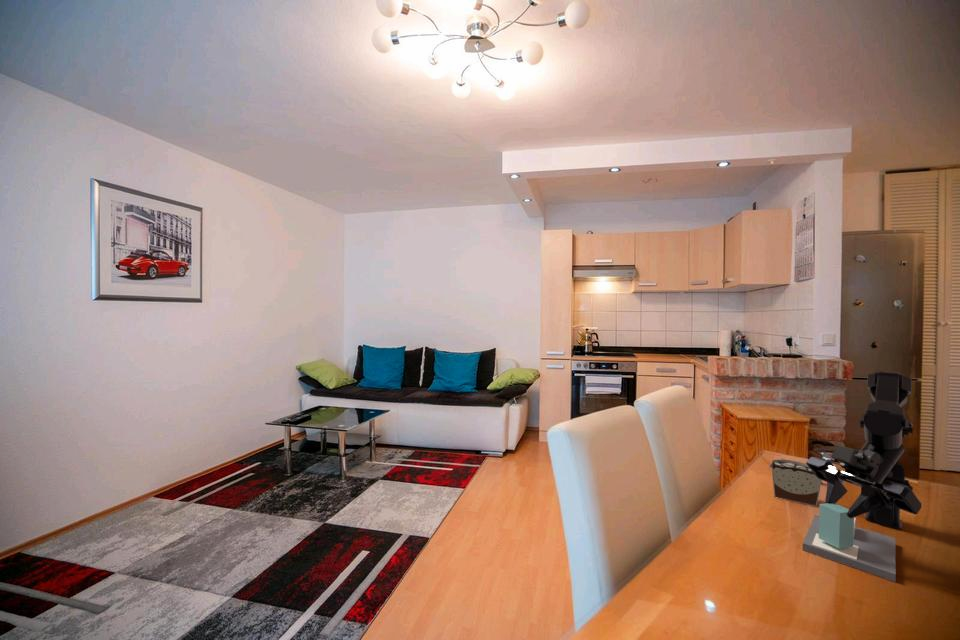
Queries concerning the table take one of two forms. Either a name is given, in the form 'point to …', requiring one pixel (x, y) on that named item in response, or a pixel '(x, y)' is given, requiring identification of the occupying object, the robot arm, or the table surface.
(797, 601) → the table surface
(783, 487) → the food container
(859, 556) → the building board
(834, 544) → the pillar
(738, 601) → the table surface
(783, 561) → the table surface
